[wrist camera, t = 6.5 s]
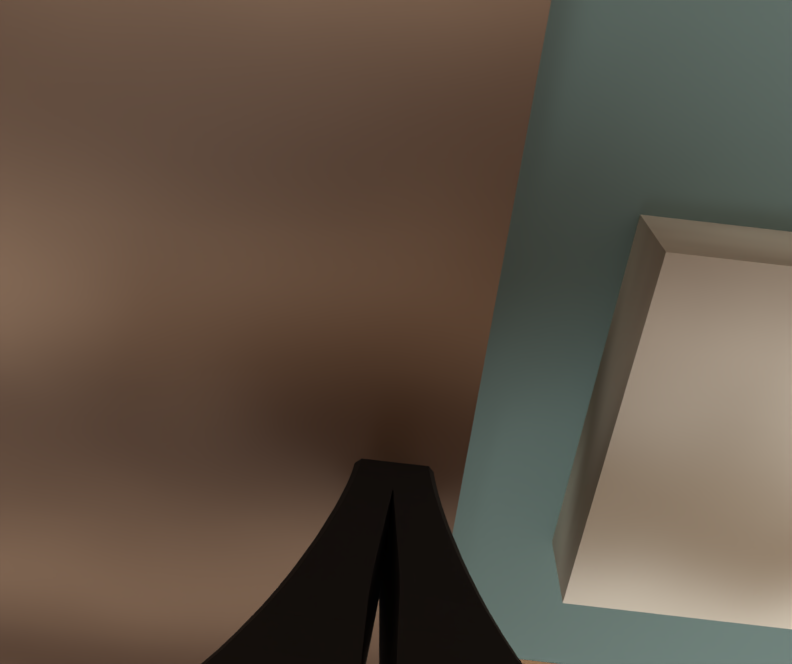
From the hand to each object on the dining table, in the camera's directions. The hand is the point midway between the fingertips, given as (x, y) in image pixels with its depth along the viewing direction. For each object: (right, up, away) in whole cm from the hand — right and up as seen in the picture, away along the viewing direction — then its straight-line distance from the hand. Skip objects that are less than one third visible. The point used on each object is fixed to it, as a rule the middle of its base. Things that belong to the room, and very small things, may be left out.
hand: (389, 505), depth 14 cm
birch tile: (+8, 0, +2) cm, 8 cm away
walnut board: (-4, +3, +4) cm, 7 cm away
